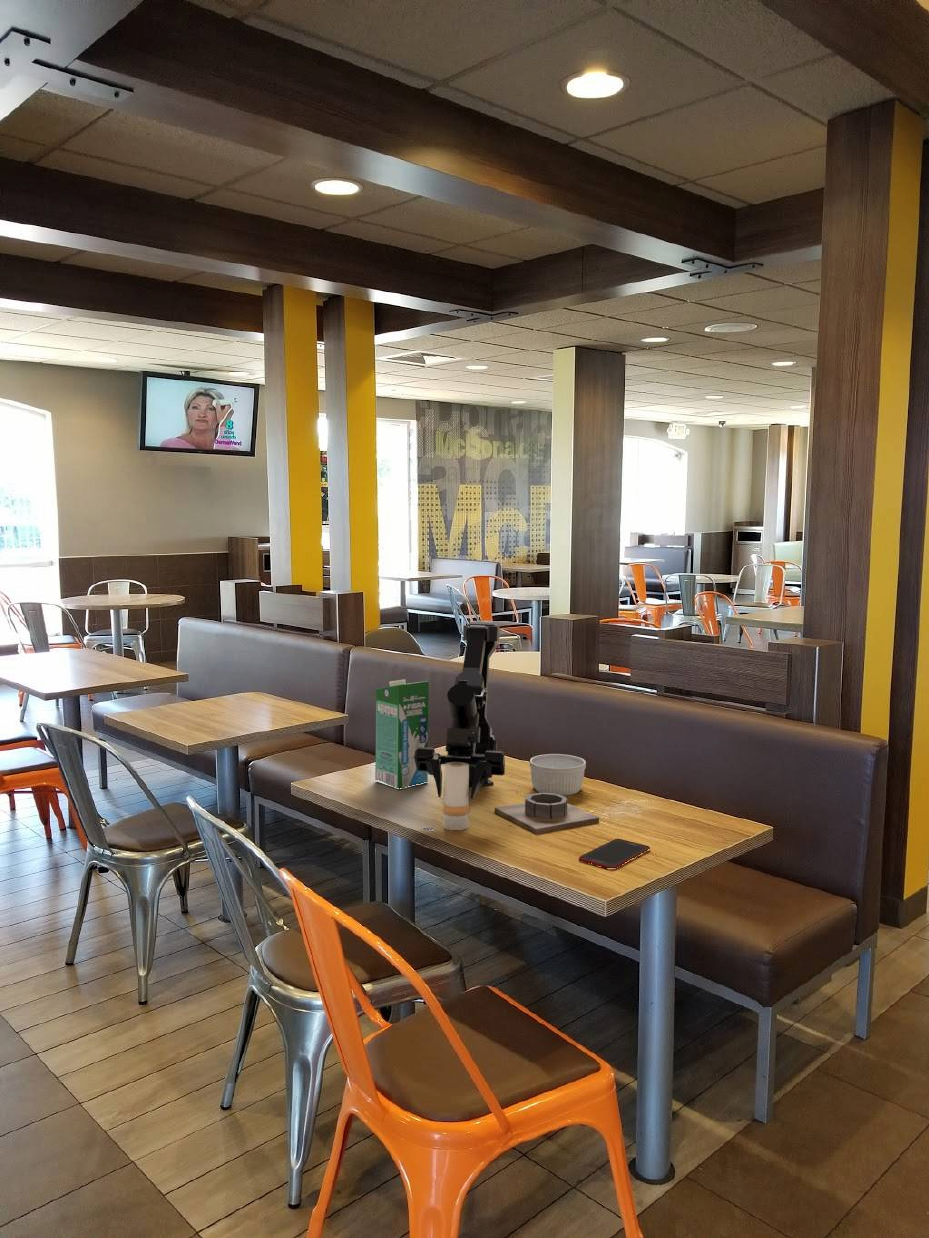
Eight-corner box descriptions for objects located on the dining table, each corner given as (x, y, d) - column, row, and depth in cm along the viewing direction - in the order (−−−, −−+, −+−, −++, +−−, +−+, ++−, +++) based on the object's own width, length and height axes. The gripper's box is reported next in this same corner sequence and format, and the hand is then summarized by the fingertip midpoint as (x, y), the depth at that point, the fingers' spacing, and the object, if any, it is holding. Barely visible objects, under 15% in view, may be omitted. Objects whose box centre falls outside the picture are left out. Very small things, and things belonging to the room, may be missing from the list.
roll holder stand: (494, 811, 203) (494, 793, 203) (554, 801, 211) (555, 784, 211) (536, 833, 190) (536, 814, 189) (598, 822, 198) (599, 803, 197)
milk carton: (404, 775, 231) (405, 675, 229) (428, 783, 225) (429, 680, 222) (374, 782, 225) (375, 679, 223) (398, 790, 219) (399, 684, 216)
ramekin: (554, 801, 212) (555, 770, 212) (517, 787, 223) (518, 758, 222) (596, 791, 220) (597, 762, 220) (559, 778, 231) (559, 751, 230)
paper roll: (439, 824, 195) (440, 762, 193) (462, 821, 197) (463, 760, 195) (448, 831, 190) (449, 768, 189) (472, 829, 192) (473, 766, 191)
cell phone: (576, 862, 175) (576, 857, 175) (616, 842, 186) (617, 837, 186) (612, 872, 170) (613, 867, 170) (651, 851, 182) (652, 846, 181)
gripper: (416, 709, 196) (405, 775, 186) (505, 713, 194) (498, 780, 184) (422, 737, 205) (412, 802, 195) (507, 741, 202) (501, 807, 192)
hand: (455, 797), depth 191 cm, fingers open, 6 cm apart
